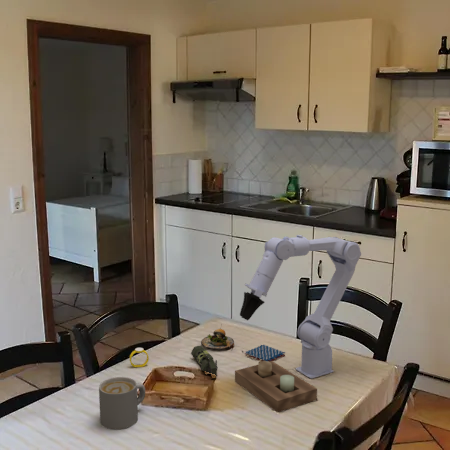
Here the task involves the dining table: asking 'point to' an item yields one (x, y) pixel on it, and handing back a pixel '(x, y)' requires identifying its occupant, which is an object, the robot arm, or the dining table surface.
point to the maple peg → (264, 369)
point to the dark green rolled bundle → (204, 359)
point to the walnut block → (275, 388)
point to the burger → (218, 340)
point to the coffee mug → (119, 402)
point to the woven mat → (264, 353)
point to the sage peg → (287, 383)
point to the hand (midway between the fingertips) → (243, 318)
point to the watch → (139, 350)
